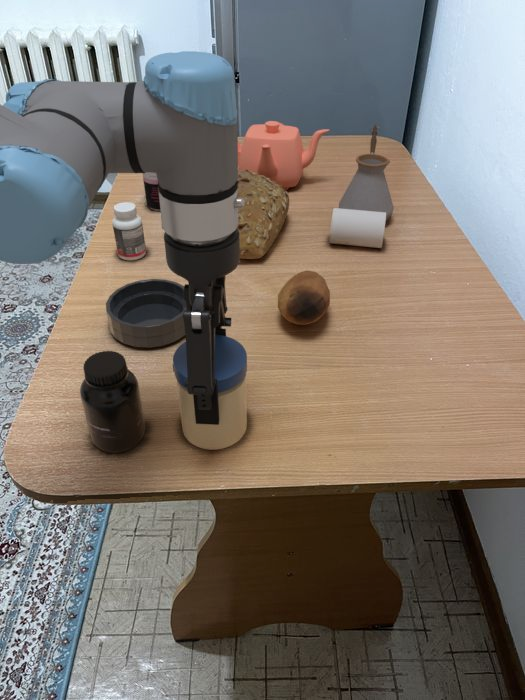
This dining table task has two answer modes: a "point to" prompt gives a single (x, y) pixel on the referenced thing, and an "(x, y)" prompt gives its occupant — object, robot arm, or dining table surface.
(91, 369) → the supplement bottle
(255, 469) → the dining table surface
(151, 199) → the beverage can
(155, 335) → the bowl
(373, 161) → the coffee pot
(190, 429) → the jar
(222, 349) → the jar lid
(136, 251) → the pill bottle
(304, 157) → the teapot
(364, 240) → the cup
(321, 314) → the potato
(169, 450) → the dining table surface
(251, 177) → the bread
